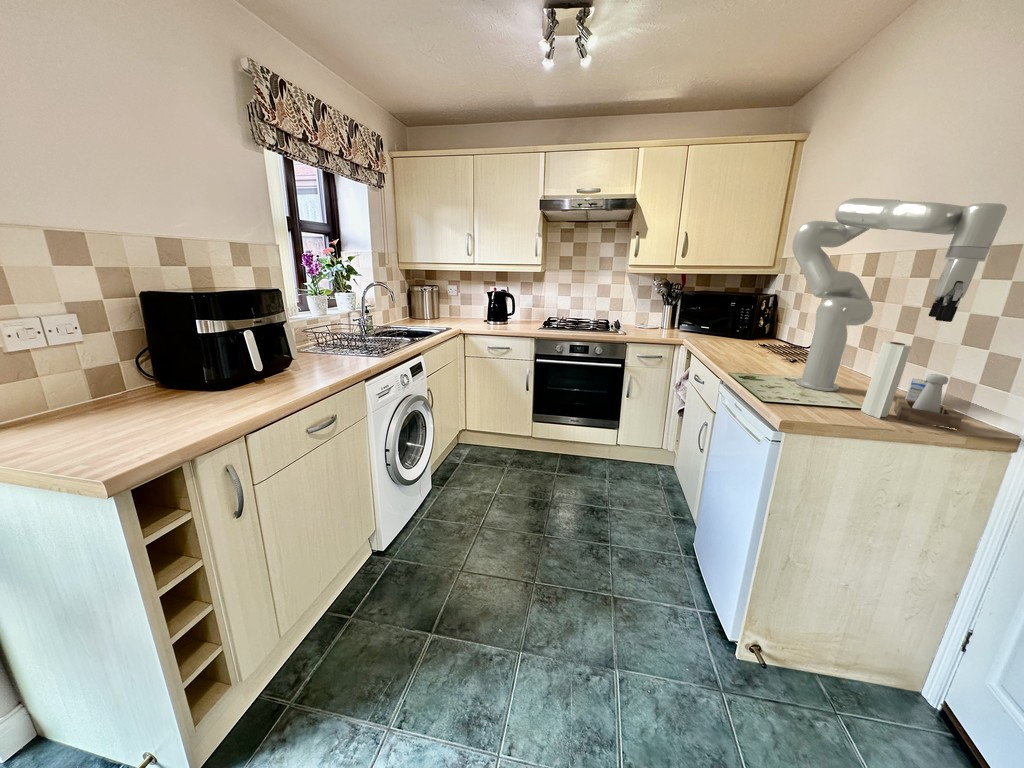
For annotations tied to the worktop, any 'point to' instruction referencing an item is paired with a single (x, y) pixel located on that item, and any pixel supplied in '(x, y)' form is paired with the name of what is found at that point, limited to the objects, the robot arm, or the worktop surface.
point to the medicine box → (915, 389)
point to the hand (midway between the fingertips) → (939, 319)
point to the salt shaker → (931, 394)
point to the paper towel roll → (885, 378)
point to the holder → (926, 414)
